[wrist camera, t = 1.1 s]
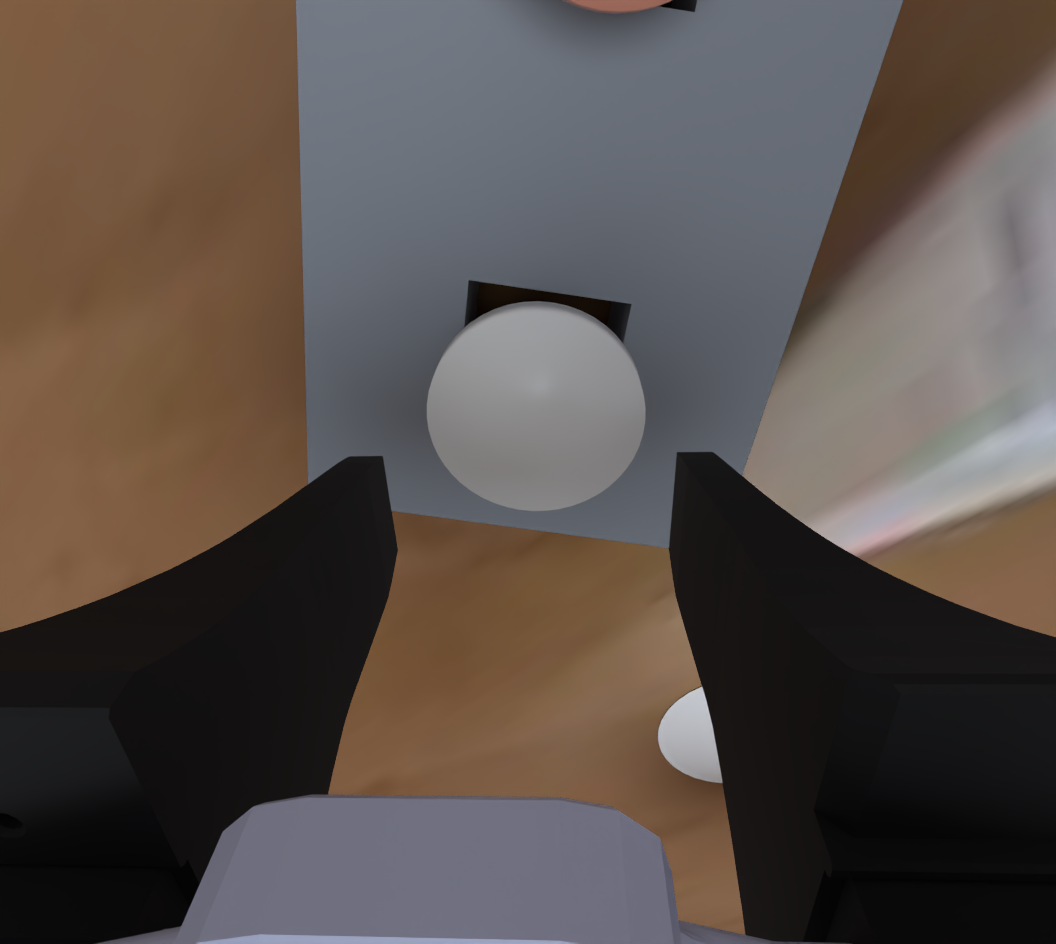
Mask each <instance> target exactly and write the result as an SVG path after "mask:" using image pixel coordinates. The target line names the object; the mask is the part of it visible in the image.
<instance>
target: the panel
mask: <svg viewBox="0 0 1056 944" xmlns="http://www.w3.org/2000/svg"><path fill="white" fill-rule="evenodd" d="M902 2H903V0H672V4H671V8H666V7H659V6H658V7H655V8H652V9H648V10H644V11H639V12H635V13H623V14H610V13H598V12H594V11H590V10H586V9H582V8H579V7H576V6H574V5H572V4H569V3H567V2H564V1H563V0H296V13H297V53H298V93H299V133H300V173H301V213H302V253H303V293H304V333H305V373H306V413H307V453H308V484H309V483H311V482H312V481H313V480H315V479H316V478H318V477H319V476H320V475H322V474H323V473H324V472H326V471H327V470H329V469H330V468H331V467H333V466H334V465H336V464H337V463H339V462H340V461H342V460H344V459H345V458H347V457H349V456H383V460H384V466H385V473H386V479H387V485H388V492H389V498H390V504H391V511H396V512H403V513H411V514H418V515H426V516H433V517H441V518H448V519H456V520H463V521H470V522H478V523H485V524H493V525H500V526H508V527H515V528H523V529H530V530H537V531H545V532H552V533H560V534H567V535H575V536H582V537H590V538H597V539H604V540H612V541H619V542H627V543H634V544H642V545H649V546H657V547H664V548H669V541H670V529H671V517H672V504H673V492H674V480H675V468H676V456H677V452H714V453H715V454H716V455H718V456H719V457H720V458H721V459H723V460H724V461H725V462H726V463H727V464H728V465H730V466H731V467H732V468H733V469H734V470H736V471H737V472H738V473H739V474H740V475H741V476H742V474H743V471H744V468H745V465H746V462H747V459H748V456H749V453H750V450H751V447H752V444H753V441H754V438H755V435H756V432H757V429H758V427H759V424H760V421H761V418H762V415H763V412H764V409H765V406H766V403H767V400H768V397H769V394H770V391H771V388H772V385H773V382H774V379H775V376H776V374H777V371H778V368H779V365H780V362H781V359H782V356H783V353H784V350H785V347H786V344H787V341H788V338H789V335H790V332H791V329H792V326H793V323H794V321H795V318H796V315H797V312H798V309H799V306H800V303H801V300H802V297H803V294H804V291H805V288H806V285H807V282H808V279H809V276H810V273H811V270H812V268H813V265H814V262H815V259H816V256H817V253H818V250H819V247H820V244H821V241H822V238H823V235H824V232H825V229H826V226H827V223H828V220H829V217H830V215H831V212H832V209H833V206H834V203H835V200H836V197H837V194H838V191H839V188H840V185H841V182H842V179H843V176H844V173H845V170H846V167H847V164H848V161H849V159H850V156H851V153H852V150H853V147H854V144H855V141H856V138H857V135H858V132H859V129H860V126H861V123H862V120H863V117H864V114H865V111H866V108H867V106H868V103H869V100H870V97H871V94H872V91H873V88H874V85H875V82H876V79H877V76H878V73H879V70H880V67H881V64H882V61H883V58H884V55H885V53H886V50H887V47H888V44H889V41H890V38H891V35H892V32H893V29H894V26H895V23H896V20H897V17H898V14H899V11H900V8H901V5H902ZM480 282H486V283H493V284H499V285H506V286H513V287H520V288H527V289H533V290H540V291H547V292H554V293H560V294H567V295H574V296H581V297H588V298H594V299H601V300H608V301H612V302H611V307H610V312H609V317H608V322H607V327H608V328H609V329H610V330H611V331H612V332H614V333H615V334H616V335H617V337H618V338H619V339H620V340H621V342H622V343H623V344H624V345H625V347H626V348H627V350H628V352H629V353H630V355H631V357H632V359H633V361H634V363H635V366H636V368H637V371H638V375H639V379H640V382H641V386H642V390H643V394H644V400H645V408H646V411H645V426H644V432H643V436H642V439H641V442H640V446H639V448H638V450H637V452H636V454H635V456H634V458H633V460H632V461H631V463H630V464H629V466H628V467H627V469H626V470H625V471H624V472H623V474H622V475H621V476H620V477H619V478H618V479H617V480H616V481H615V482H614V483H613V484H611V485H610V486H609V487H608V488H607V489H605V490H604V491H602V492H601V493H599V494H598V495H596V496H594V497H592V498H590V499H588V500H586V501H584V502H581V503H579V504H576V505H574V506H570V507H566V508H562V509H556V510H549V511H527V510H518V509H513V508H508V507H505V506H502V505H498V504H495V503H493V502H491V501H488V500H486V499H484V498H482V497H480V496H479V495H477V494H475V493H473V492H472V491H470V490H469V489H468V488H466V487H465V486H464V485H462V484H461V483H460V482H459V481H458V480H457V479H456V478H455V477H454V476H453V475H452V474H451V473H450V471H449V470H448V469H447V468H446V467H445V465H444V464H443V462H442V461H441V459H440V457H439V456H438V454H437V452H436V450H435V447H434V445H433V443H432V440H431V436H430V433H429V429H428V422H427V399H428V392H429V389H430V385H431V382H432V379H433V376H434V374H435V371H436V369H437V366H438V364H439V362H440V359H441V357H442V355H443V353H444V351H445V350H446V348H447V347H448V345H449V344H450V342H451V341H452V340H453V339H454V338H455V336H456V335H457V334H458V333H459V332H460V331H461V330H462V329H463V328H465V327H466V326H467V325H468V324H469V323H470V322H472V321H473V320H475V319H476V314H477V304H478V294H479V285H480Z"/></svg>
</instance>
